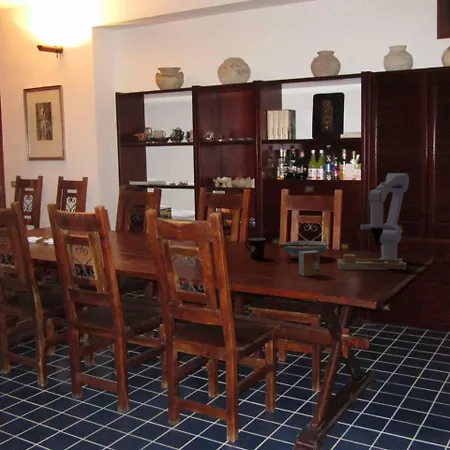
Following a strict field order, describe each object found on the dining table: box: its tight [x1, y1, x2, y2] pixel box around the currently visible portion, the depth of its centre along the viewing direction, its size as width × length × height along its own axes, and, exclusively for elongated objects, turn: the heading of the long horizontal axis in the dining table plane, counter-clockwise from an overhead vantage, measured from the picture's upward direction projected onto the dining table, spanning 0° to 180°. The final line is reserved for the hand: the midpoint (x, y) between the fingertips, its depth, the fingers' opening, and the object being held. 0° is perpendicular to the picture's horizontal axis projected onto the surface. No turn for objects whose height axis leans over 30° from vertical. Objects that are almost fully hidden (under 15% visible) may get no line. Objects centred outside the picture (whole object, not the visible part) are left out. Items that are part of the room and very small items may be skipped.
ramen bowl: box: [279, 240, 331, 260], centre depth 312 cm, size 25×23×8 cm
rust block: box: [343, 253, 356, 263], centre depth 285 cm, size 5×5×4 cm
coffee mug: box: [244, 237, 266, 260], centre depth 317 cm, size 12×9×10 cm
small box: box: [298, 250, 321, 277], centre depth 271 cm, size 8×6×10 cm
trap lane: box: [337, 258, 407, 271], centre depth 285 cm, size 11×30×3 cm, turn 84°
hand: (376, 244), depth 286 cm, fingers closed
